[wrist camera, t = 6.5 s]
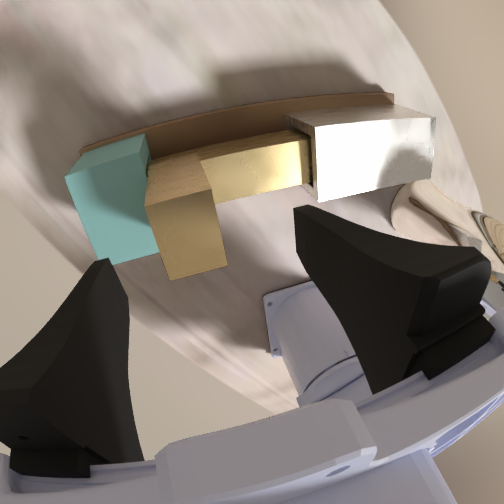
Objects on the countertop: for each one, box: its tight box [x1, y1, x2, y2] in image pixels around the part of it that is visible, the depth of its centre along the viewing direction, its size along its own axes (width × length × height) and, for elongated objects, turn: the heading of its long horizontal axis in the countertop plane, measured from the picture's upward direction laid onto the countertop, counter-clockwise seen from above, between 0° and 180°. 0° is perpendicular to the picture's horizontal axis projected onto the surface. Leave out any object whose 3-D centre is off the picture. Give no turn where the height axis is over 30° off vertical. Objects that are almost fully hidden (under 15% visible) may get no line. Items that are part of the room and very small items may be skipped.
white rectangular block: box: [284, 104, 436, 202], centre depth 19 cm, size 4×9×4 cm, turn 98°
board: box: [79, 92, 394, 160], centre depth 20 cm, size 6×22×1 cm, turn 98°
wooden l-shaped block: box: [144, 129, 313, 281], centre depth 15 cm, size 4×13×8 cm, turn 98°
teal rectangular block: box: [64, 133, 159, 265], centre depth 16 cm, size 6×4×4 cm
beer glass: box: [390, 179, 504, 320], centre depth 21 cm, size 7×7×15 cm
